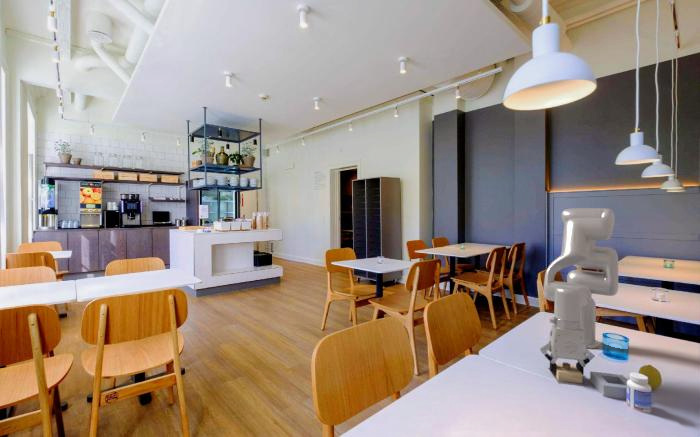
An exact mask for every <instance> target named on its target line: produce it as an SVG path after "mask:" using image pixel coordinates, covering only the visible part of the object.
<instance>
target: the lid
mask: <svg viewBox="0 0 700 437" xmlns="http://www.w3.org/2000/svg"><path fill="white" fill-rule="evenodd" d="M555 363H556V365H557V369H556V375H555V376H556V378H557V379H558V380H559V381H568V382H576V383H582V382H583V376H584V375H583V374H582V373H581V372H580V371H579V370H578V369H577V368H576V364H571V363H569V362H562V363H561V362H555Z"/></svg>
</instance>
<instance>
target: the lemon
mask: <svg viewBox="0 0 700 437" xmlns="http://www.w3.org/2000/svg"><path fill="white" fill-rule="evenodd" d="M638 373H639V374H643V375H645V376H647V377H648V384H649V385H650V386H651V389H652V390H656V389H659V388H660V386H661V385H662V382H663V378H662V375H661V373H660V371H659V370H658V369H657V368H656V367H654V366H653V365H651V364H647V365H642V366H641V367H640V368H639V370H638Z"/></svg>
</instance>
